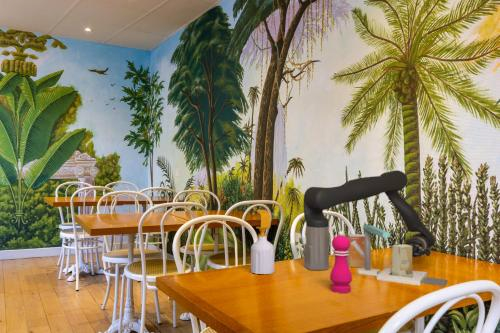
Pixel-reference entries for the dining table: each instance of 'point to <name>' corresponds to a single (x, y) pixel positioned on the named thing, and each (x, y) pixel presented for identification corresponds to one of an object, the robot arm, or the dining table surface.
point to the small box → (356, 250)
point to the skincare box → (402, 260)
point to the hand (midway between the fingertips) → (408, 252)
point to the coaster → (435, 281)
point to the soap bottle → (262, 248)
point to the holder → (387, 273)
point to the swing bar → (376, 231)
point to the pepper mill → (341, 265)
